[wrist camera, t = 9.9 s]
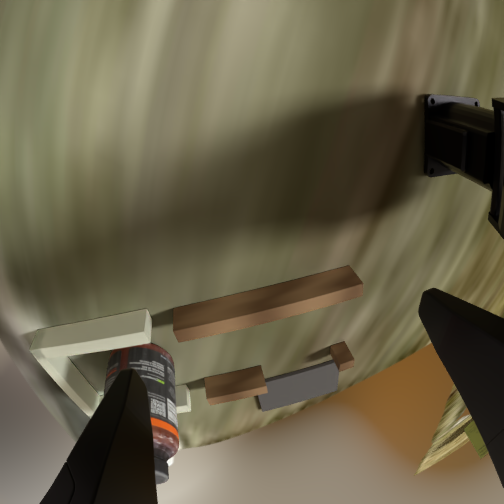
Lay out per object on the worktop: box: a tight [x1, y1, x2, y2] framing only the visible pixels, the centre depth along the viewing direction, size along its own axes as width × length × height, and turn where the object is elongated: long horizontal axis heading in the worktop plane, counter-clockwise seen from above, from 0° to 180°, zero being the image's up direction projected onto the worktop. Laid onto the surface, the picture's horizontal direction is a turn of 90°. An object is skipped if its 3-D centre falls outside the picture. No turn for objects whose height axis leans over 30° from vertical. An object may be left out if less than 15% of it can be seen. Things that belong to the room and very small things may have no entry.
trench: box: [173, 266, 363, 405], centre depth 25 cm, size 14×10×2 cm
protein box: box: [464, 420, 489, 458], centre depth 67 cm, size 10×15×16 cm
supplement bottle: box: [104, 343, 179, 484], centre depth 20 cm, size 6×6×11 cm
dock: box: [30, 309, 191, 418], centre depth 24 cm, size 11×11×2 cm
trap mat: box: [258, 360, 339, 412], centre depth 31 cm, size 9×6×1 cm, turn 99°
